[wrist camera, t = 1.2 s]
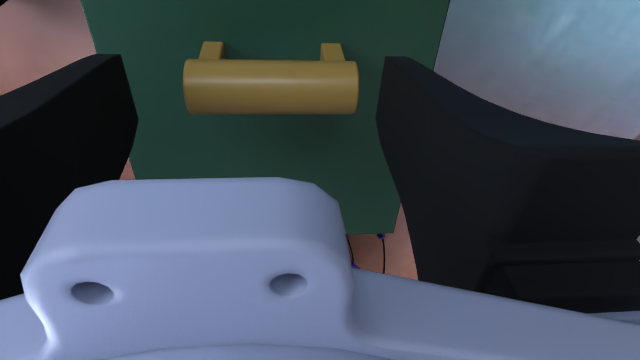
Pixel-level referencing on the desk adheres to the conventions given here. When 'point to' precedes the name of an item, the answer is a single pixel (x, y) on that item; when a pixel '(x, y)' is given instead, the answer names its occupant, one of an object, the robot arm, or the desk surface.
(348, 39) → the caddy lid
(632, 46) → the desk surface
